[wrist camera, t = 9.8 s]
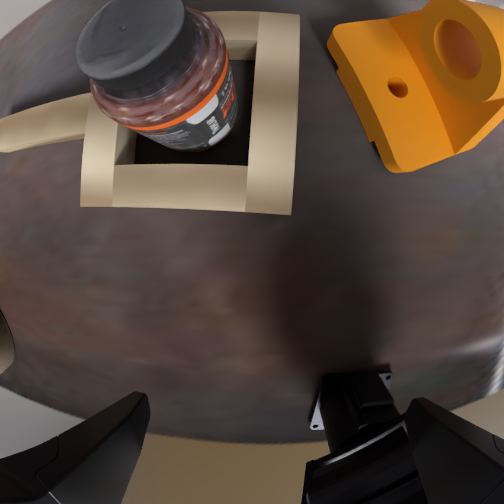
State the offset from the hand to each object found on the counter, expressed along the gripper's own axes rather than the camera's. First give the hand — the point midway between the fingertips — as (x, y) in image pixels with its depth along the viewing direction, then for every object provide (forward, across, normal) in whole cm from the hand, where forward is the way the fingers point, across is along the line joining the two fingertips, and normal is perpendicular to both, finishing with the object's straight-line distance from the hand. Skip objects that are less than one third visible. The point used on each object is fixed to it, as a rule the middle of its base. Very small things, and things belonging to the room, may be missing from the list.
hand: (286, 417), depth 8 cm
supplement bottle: (+12, +6, -12) cm, 18 cm away
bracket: (+12, -8, -15) cm, 21 cm away
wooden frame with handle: (+12, +12, -12) cm, 21 cm away
